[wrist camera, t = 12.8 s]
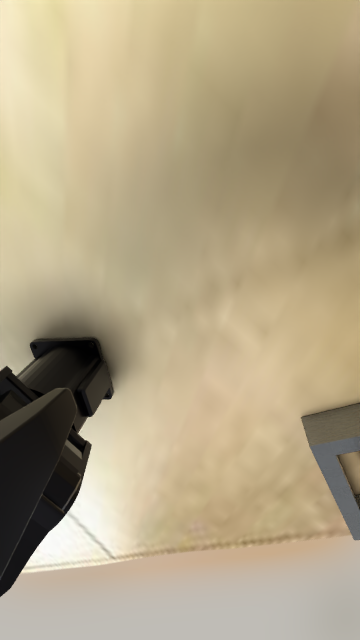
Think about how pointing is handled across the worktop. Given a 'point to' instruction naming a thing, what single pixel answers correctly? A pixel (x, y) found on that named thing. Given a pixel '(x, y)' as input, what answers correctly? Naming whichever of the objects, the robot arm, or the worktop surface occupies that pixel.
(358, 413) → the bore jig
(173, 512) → the worktop surface
